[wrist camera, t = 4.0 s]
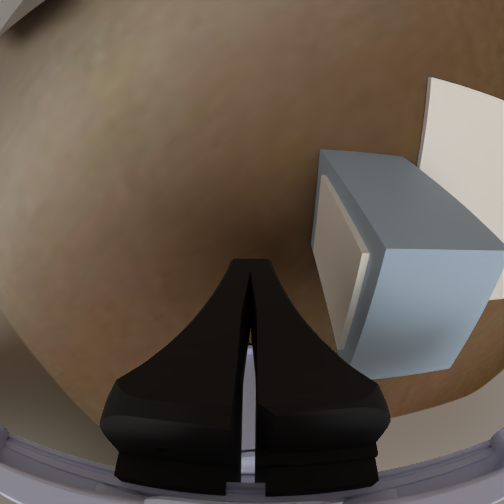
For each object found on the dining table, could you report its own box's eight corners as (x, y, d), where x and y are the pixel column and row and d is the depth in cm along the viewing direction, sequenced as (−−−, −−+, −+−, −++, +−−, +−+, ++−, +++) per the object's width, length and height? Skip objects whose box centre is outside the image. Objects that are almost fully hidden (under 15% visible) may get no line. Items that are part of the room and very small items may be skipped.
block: (385, 245, 20) (449, 368, 11) (306, 244, 20) (337, 382, 11) (402, 156, 16) (510, 251, 8) (315, 148, 16) (377, 248, 8)
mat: (501, 295, 22) (503, 298, 22) (381, 303, 22) (383, 307, 22) (556, 124, 13) (559, 126, 13) (427, 76, 14) (431, 77, 13)
